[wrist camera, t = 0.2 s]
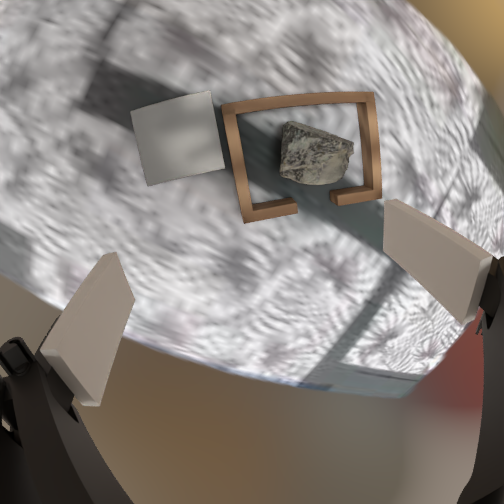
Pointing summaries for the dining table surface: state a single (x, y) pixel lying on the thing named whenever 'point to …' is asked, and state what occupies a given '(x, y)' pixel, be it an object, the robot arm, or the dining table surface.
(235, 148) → the frame
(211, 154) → the slate coaster
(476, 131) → the dining table surface
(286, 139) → the stone
